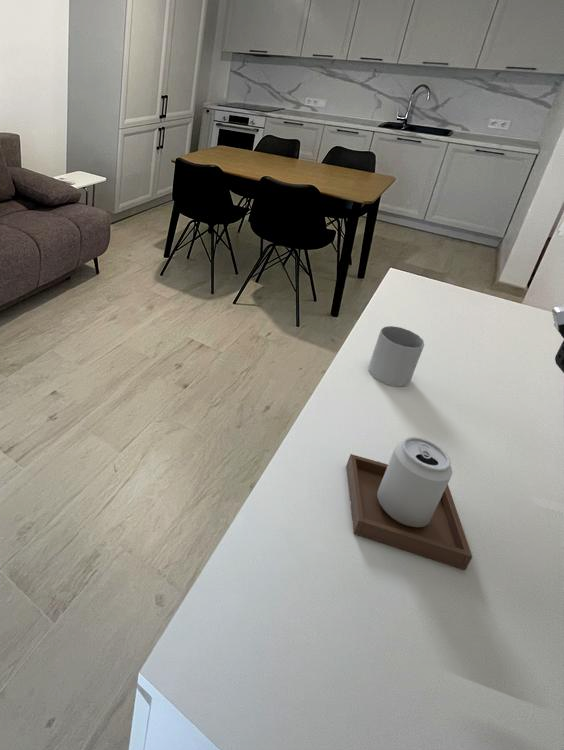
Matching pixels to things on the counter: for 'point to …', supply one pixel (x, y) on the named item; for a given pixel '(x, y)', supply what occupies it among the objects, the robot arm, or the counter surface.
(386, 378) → the cup
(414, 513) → the can
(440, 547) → the tray
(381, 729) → the counter surface
